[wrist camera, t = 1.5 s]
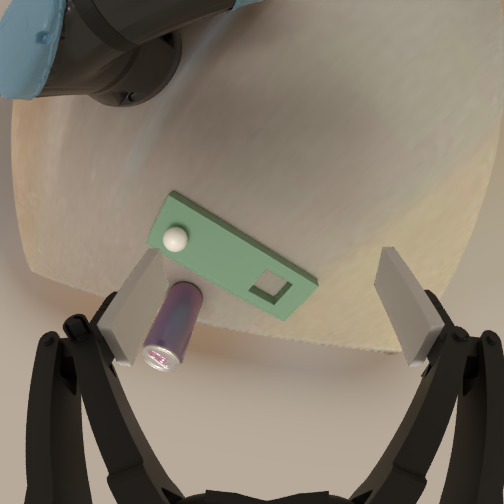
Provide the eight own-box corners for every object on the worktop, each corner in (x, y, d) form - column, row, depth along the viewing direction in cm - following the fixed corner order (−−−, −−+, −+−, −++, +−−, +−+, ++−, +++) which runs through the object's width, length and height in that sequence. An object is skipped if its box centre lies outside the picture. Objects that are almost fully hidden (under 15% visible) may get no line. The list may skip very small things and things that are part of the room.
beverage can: (182, 274, 44) (150, 338, 31) (210, 295, 46) (189, 362, 33) (164, 294, 46) (133, 356, 33) (191, 312, 48) (168, 377, 35)
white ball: (164, 237, 39) (155, 248, 36) (173, 218, 37) (165, 228, 34) (184, 249, 39) (177, 261, 36) (194, 231, 38) (187, 242, 35)
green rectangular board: (150, 237, 41) (145, 243, 39) (173, 191, 37) (168, 194, 36) (283, 313, 47) (283, 321, 45) (316, 279, 43) (318, 286, 41)
